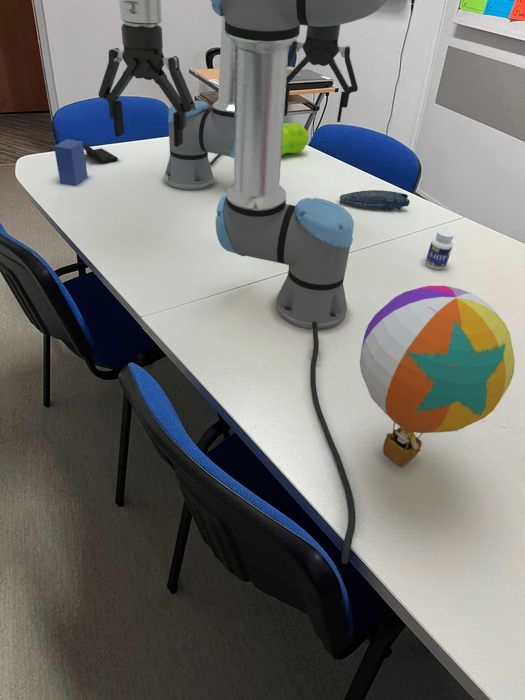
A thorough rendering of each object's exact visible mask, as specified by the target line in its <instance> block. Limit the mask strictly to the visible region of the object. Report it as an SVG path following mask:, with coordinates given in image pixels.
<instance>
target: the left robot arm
mask: <svg viewBox="0 0 525 700" xmlns="http://www.w3.org/2000/svg"><path fill="white" fill-rule="evenodd" d="M118 3H119V15H120V20H121V21H122V22H124V23H122V25H121V28H120V29H121V40H122V45H123V50H120V48H119V47H114V48H111V49H109V50H108V62H107V66H106V69H105V71H104V76H103V78H102V82H101V84H100V88H99V91H98V93H97V94H98V97H99V98H100V99H104V100H106V101H107V103H108V111H109V112H108V113H109V118H110V119H113V127H114V136H115V137H117V138H119V137H121V136H123V135H124V134H125V123H124V114H123V102H122V100H119V99H120V97H121V95H122V94H123V92H124V90H125V89H126V88H127V87H128V85H129V83H130V82H131V80H132V79H133V78H134V77H135V79H138V80H139V79H144V80H146V81H152V80H153V82H154V83H155V84H157V85H158V86H159V88H160V90H161V91H162V92H163V93H164V95H165V97H166V98H167V99H168V101H169V103H170V104H171V106H169V109H168V120H167V123H168V141H169V142H168V143H169V157H168V161H167V165H166V168H165V172H164V182H165V183H166V184H167V185H168V186H170V187H171V188H175V189H179V190H185V191H198V190H204V189H207V188H209V187H211V186H212V185H213V184H214V173H213V170H212V165H213V164H214V162H215V161H216V160H217V159H218V158H219V157H220V156H225V157H230V158H231V159H234V70H235V45H234V43H233V42H232V41H231V39H230V38H229V37H228V36H227V35H226V33H225V17H224V16H223V17H222V16H221V28H220V29H221V31H220V50H219V51H220V53H219V75H218V96H217V100H216V101H215V102H214V103H213V104H212V109H209V108H210V106H209V103H208V102H207V101H205V100H194V99H193V97H192V93H190V90H189V88H188V85H187V83H186V79H185V78H184V76H183V73H182V71H181V67H180V59H179V57H178V56H177V55H174V56H169V57H168V56H165V55H164V53H163V52H164V51H163V46H164V43H163V28H162V26H161V25H159V24H161V23H162V20H163V19H162V4H161V0H118ZM122 61H123V62H124V63H125V65H126V68H125V69H124V71H123V72H122V75H121V76H120V78H119V79H118V81H117V82H116V84H115V85H114V82H115V79H116V76H117V73H118V70H119V67H120V63H121V62H122ZM164 66H165V67H166V69H167V70H168V72H169V75H170V77H171V79H172V82H173V84H174V86H175V87H174V86H173V85H172V83H171V81H170V80H169V79H168V76H167V74H166V72H165V71H164V70H163V68H164ZM113 85H114V86H113ZM209 153H210V154H214V155H216V156H215V157H214V158H213V159H212V160H211V161H210V160H209V159H210V158H209Z"/></svg>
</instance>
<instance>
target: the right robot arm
mask: <svg viewBox="0 0 525 700" xmlns="http://www.w3.org/2000/svg"><path fill="white" fill-rule="evenodd" d="M386 1H387V0H210V2H211V8H212V10H213V12H214V13H215V14H217V15H218V16H219V17H221V18H222V17H223V16H224V17H225V33H226V35H227V36H228V37H229V38H230V39H231V41H232V42H233V43H234V45H235V70H234V158H233V162H234V163H233V166H234V167H233V176H234V177H233V179H234V180H233V183H232V184H230V185H229V187H227V189H226V193H224V194H223V195H222V196H221V198H220V199H219V201H218V204H217V208H216V217H215V231H216V237H217V240H218V242H219V244H220V246H221V247H222V249H224V250H225V251H227V252H230V253H233V254H236V255H239V256H240V257H249V258H253V259H259V260H263V261H268V262H273V263H278V264H283V265H287V266H288V270H287V271H288V272H287V275H286V278H285V279H284V282H283V283H282V285H281V287H280V290H279V291H278V294H277V296H276V300H275V311H276V313H277V315H278V316H279V317H280V318H281V319H282V320H283V321H284V322H286V323H287V324H289V325H291V326H293V327H296V328H300V329H304V330H310V331H312V339H313V347H312V355H311V361H310V369H309V370H310V371H309V373H310V374H309V381H310V382H309V383H310V392H311V397H312V403H313V406H314V407H313V408H314V410H315V413H316V416H317V418H318V421H319V424H320V426H321V429H322V432H323V435H324V437H325V440H326V442H327V445H328V447H329V450H330V452H331V455H332V457H333V460H334V462H335V465H336V467H337V471H338V474H339V477H340V481H341V483H342V486H343V490H344V493H345V498H346V503H347V514H348V518H347V519H348V520H347V526H346V531H345V536H344V540H343V545H342V551H341V557H340V561H341V563H342V564H344V565H347V564H348V563H349V561H350V553H351V547H352V542H353V538H354V534H355V529H356V506H355V505H356V504H355V500H354V499H355V498H354V496H353V491H352V487H351V485H350V481H349V478H348V476H347V473H346V469H345V467H344V466H345V465H344V464H343V460H342V459H341V456H340V453H339V451H338V449H337V446H336V443H335V442H334V439H333V437H332V434H331V431H330V429H329V426H328V424H327V421H326V419H325V416H324V413H323V411H322V408H321V405H320V400H319V395H318V390H317V379H316V377H317V376H316V375H317V372H316V371H317V360H318V355H319V346H320V345H319V341H320V340H319V331H324V330H325V331H326V330H329V329H333V328H336V327H337V326H339V325H340V324H342V323H343V322H344V320H345V318H346V315H347V310H348V305H347V297H346V292H345V286H344V280H345V275H346V271H347V267H348V266H347V265H348V260H349V256H350V255H349V254H350V250H351V249H350V248H351V246H352V244H353V242H354V239H353V236H354V235H353V234H354V228H355V223H354V222H355V221H354V219H353V216H352V215H351V214H350V213H349V211H348V210H346V209H345V208H344V207H343V206H341V205H339V204H338V203H335V202H333V201H330V200H328V199H323V198H318V197H313V198H311V197H306V198H302V199H300V200H298V201H297V202H296V205H293V204H289V203H287V192H286V190H285V188H283V187H282V185H280V182H281V181H280V180H281V163H282V155H281V152H282V137H283V123H284V122H285V121H284V119H285V117H287V116H288V113H289V112H288V111H289V101H290V93H291V92H290V91H291V85H289V84H290V82H291V81H292V80H293V79H294V78H295V77H297V75H298V74H299V73H300V72H301V71H302V69H303V68H305V67H306V66H307V65H308V64H311V65H312V66H318V65H319V66H321V67H326V66H329V68H330V69H331V70H332V72H333V74H334V76H335V77H336V79H337V81H338V82H339V84H340V87H341V88H342V90H343V91H341V94H340V99H339V106H338V112H337V118H336V123H340V122H341V119H342V112H343V108H345V109H346V108H347V107H348V105H349V98H350V94H352V93H356V92H358V90H359V89H358V88H359V86H358V82H357V79H356V75H355V71H354V67H353V63H352V60H351V46H350V45H346V46H339V37H340V31H341V25H345V24H348V23H352V22H356V21H358V20H362V19H365V18H366V17H369V16H372V15H373V14H374V13H376V12H377V11H378V10H379V9H381V7H383V6H384V4H385V3H386ZM301 26H307V27H306V33H305V34H306V36H305V41H304V42H301V41H298V40H297V39H298V38H299V37H300V31H301ZM289 48H290V49H289ZM301 49H302V51H303V52H304V54H305V56H304V57H303V59H301V61H300V62H299V63H298V64H297V65H296V66H295V67H294V68H293V69H292V70H291V72H290V73H289V74H288V67H289V65H290V64H291V62H292V60H293V59H294V57H295V54H296V53H299V52H300V51H301ZM289 51H290V52H289ZM338 53H340V56H341V57H342V58H344V64H345V66H346V72H347V74H348V78H349V82H350V86H349V84H348V82H347V80H346V79H345V77H344V75H343V73H342V72H341V70H340V68H339V66H338V64H337V62H336V60H335V58H336V56H337V55H338Z"/></svg>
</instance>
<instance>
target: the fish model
mask: <svg viewBox="0 0 525 700" xmlns="http://www.w3.org/2000/svg"><path fill="white" fill-rule="evenodd" d="M410 202H411V201H410V200H409V195H408V194H406V193H403V192H402V193H401V192H399V191H392V190H382V189H380V190H379V189H377V190H376V189H368V190H360V191H352V192H348V193H344V194H341V195H340V196H339V203H343V204H346V205H349V206H351V207H357V208H362V209H371V210H372V209H374V210H384V211H385V210H386V211H391V210H394V209H397V210H402V208H404V207H408V206H409V205H410Z"/></svg>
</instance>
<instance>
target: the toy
mask: <svg viewBox="0 0 525 700" xmlns="http://www.w3.org/2000/svg"><path fill="white" fill-rule="evenodd" d="M360 349H361V350H360V354H359V355H360V357H359V368H360V374H361V376H362V379H363V381H364V384H365V387H366V389H367V390H368V393H369V397H370V398H371V399H372V401H373V402H374V403H375V404H376V405H377V406H378V407H379V408H380V409H381V410H382V412H384V414H385V415H386V416H387V417H388V418H389V419H390V420H391V421H392V422H393V426H392V427H393V428H392V432H391V433H390V432H389V433H387V434H386V435H385V436H386V437H385V439H384V442H383V447H382V453H383V455H384V456H385V457H386V458H387V459H389V460H390V461H391V462H392V463H394V464H395V465H396V466H398V467H399V468H403V467H404V466H406V465H407V464H408V463H410V461H412V460H413V459H414V458H415V457H416V456H417V455H418V454H419V453H420V452H421V451H422V449H421V447H422V445H423V442H422V440H421V439H420V438H421V436H422V435H423V434H433V433H447V432H448V433H449V432H456V431H459V430H461V429H464V428H466V427H468V426H470V425H473V424H475V423H477V422H479V421H481V420H483V419H485V418H486V417H488V416H489V415H490V414H491V413H492V412H494V411H495V408H497V406H498V404H499V403H500V401H501V400H502V398H503V396H504V395H505V393H506V392H507V390H508V389H509V387H510V386H511V382H512V381H513V380H512V379H513V377H514V373H515V362H516V359H515V353H514V348H513V343H512V337H511V332H510V331H509V327H507V325H506V323H505V321H504V320H503V319H502V317H501V316H500V315H499V314H498V312H497V311H496V310H495V309H494V308H493V307H492V306H491V305H490V304H489V303H488V302H487V301H485V300H484V299H482V298H481V297H479V296H478V295H477V294H474V293H472V292H469V291H466V290H463V289H461V288H458V287H453V286H448V285H425V286H421V287H417V288H413V289H409V290H407V291H404V292H402V293H400V294H398V295H396V296H394V297H393V298H392V299H391V300H390V301H389V302H388V303H386V304H385V305H384V306H383V307H382V308H381V309H380V310H379V311H377V312H376V313H375V314H374V316H373V317H372V318H371V320H370V321H369V323H368V325H367V327H366V329H365V333H364V335H363V340H362V345H361V348H360ZM396 425H397V426H398V428H397V429H395V426H396ZM415 433H416V434H417V433H418V434H419V436H418V437H417V436H416V434H415Z"/></svg>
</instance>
